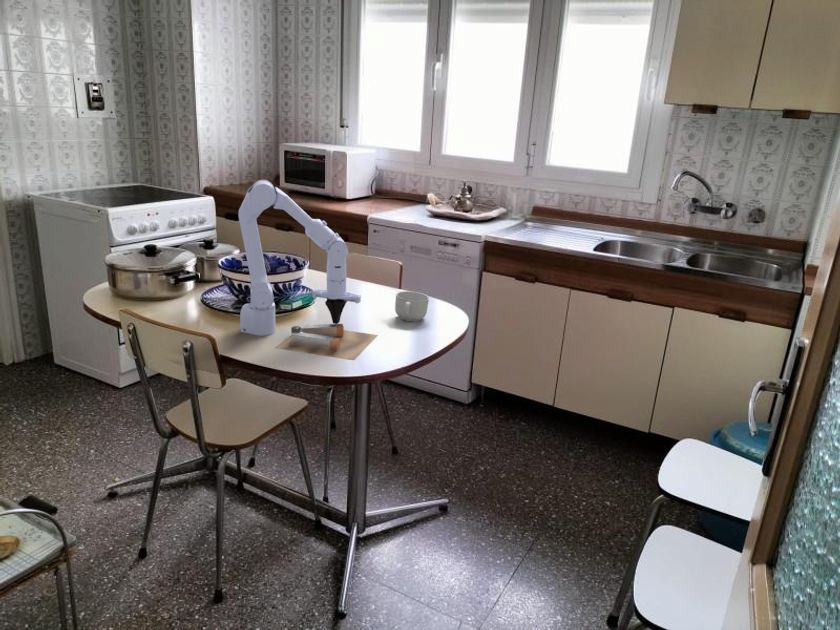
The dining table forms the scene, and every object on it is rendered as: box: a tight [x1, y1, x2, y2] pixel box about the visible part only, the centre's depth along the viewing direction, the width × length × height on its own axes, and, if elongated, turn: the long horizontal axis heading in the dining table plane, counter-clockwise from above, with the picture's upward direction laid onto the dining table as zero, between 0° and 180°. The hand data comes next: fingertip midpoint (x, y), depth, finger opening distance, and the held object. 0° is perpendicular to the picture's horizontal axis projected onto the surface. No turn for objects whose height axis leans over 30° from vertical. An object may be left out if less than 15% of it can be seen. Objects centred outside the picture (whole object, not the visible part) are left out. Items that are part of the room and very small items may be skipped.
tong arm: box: [300, 323, 345, 337], centre depth 177 cm, size 12×2×3 cm, turn 105°
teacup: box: [394, 290, 430, 322], centre depth 198 cm, size 14×11×8 cm
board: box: [275, 329, 379, 361], centre depth 175 cm, size 23×20×1 cm
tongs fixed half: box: [290, 325, 340, 351], centre depth 171 cm, size 15×4×4 cm, turn 75°
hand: (336, 322), depth 184 cm, fingers closed
